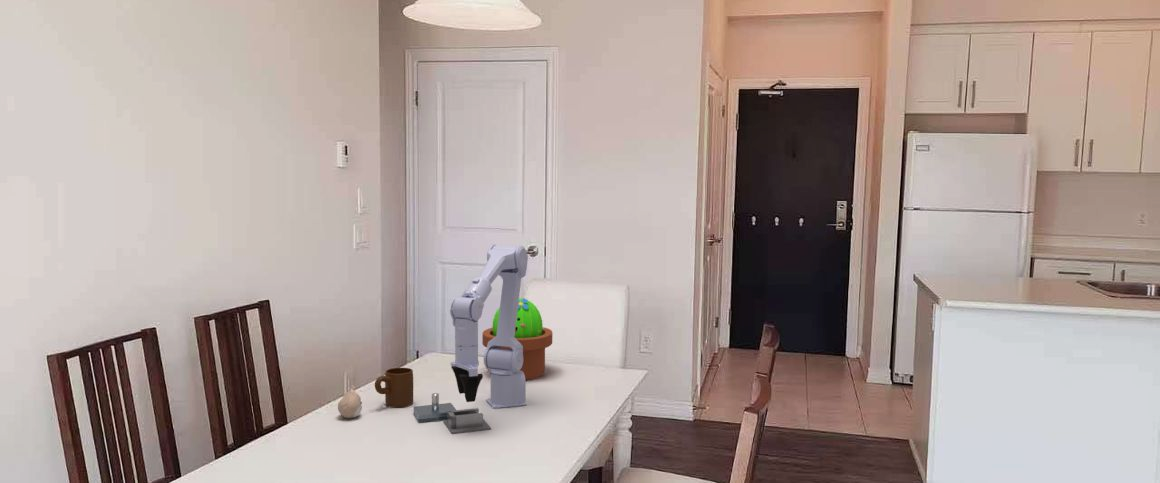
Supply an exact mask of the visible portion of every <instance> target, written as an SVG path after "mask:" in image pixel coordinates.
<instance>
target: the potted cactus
mask: <svg viewBox="0 0 1160 483" xmlns="http://www.w3.org/2000/svg"><path fill="white" fill-rule="evenodd" d="M499 310H500V306H499V307H498V308H497V309H496V312H494V314H493V315H492V317H493V318H492V325H490V327H489V328H487V329H485V330H483V332H482V341H481V342H482V345H483V347H485V348H487V344H488V342H489V341H490V340H492V339H493V338H494V337H496V335H497V327H498V318H499ZM515 338H516V339H517V340H518V341H519V342H520V343H521V345H522V346H523V365H522V368H521V369H520V370H519V371H523V373H524V375H525V381H529V380H535V379H538V378H541V377H542V376H543V375H544V374H546V373H545V372H546V348H549V347H551V345H552V344H553V330H552V329H550V328H548V327H544V326H543V319H542V316H541V312H540V310H539V309H538V308H537V306H536V305H535V304H534V303H533V302H532V301H530V300H529V299H528V298H526V297H523V298H521V297H519V303H518V311H517V320H516V328H515ZM498 348H504V349H512V348H511V347H503V346H500V347H498ZM489 374H490V375H491V373H490V372H489Z"/></svg>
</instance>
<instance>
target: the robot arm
mask: <svg viewBox="0 0 1160 483" xmlns="http://www.w3.org/2000/svg"><path fill="white" fill-rule="evenodd" d="M528 260H529V256H528V253H527V250H526V248H525V246H523V245H519V246H518V245H502V244H501V245H499V244H498V245H497V244H492V245H490V247H489V248H488V251H486V263H485V266H483V269H482V271H481V273H480V275H479V276H477V277H473V279H472V280H471V281H470V283H469V284H468V285H467V287H466V289H465V290H464V291H463V293H462V295H460V296H458V297H455V298H454V299H453V300H452V302H451V304H450V309H449V313H450V317H451V319H452V326H453V327H454V357H455V360H454V361H450V366H451V370H452V371H453V373H454V377H455V380H456V385H457V390H458V393H459V394H460V395H462V394H464V398H465V402H466V403H472V402H476V398H477V393H478V390H479V386H480V383H481V381H482V380H483V377H484V375H483V373H478V372H479V371H478V370H479V368H478V367H479V364H480V361H479V320H480V318H481V317H482V315H483V309H484V306H485V302H486V300H487V298H488V297H489V296H490V294H491V292H492V289H493V288H492V284H493V282H494V281H495V280H496V279H497V277H498V276H500V277H501V279H502V287H501V295H500V296H501V297H500V301H499V303H500V304H499V305H500V306H499V307H500V310H499V318H498V327H497V335H496V337H494V338H493V339H492V340H490V341H489V342H488V344H487V347H486V349H485V352H484V355H483V364H484V367H485V368H486V369H487V371H488V372H487V373H489V374H490V373H491V374H490V397H489V398H486V399H485V401H486V402H487V403H488V404H489V405H490V406H491V408H493V409H499V408H500V409H501V408H509V407H518V406H526V405H527V402H526V400H527V399H526V395H527V394H526V392H527V390H526V388H527V387H526V384H527V383H526V381H527V380H525V375H524V373H523V371H519V370H520V369H521V368H522V365H523V346H522V345H521V343H520V342H519V341H518V340H517V339H516V338H515V328H516V320H517V311H518V303H519V298H520V292H521V285H522V278H524V277H526V275H527V269H528ZM500 346H503V347H511V348H512V349H504V348H498V347H500Z"/></svg>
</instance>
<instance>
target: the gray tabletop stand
mask: <svg viewBox="0 0 1160 483" xmlns="http://www.w3.org/2000/svg"><path fill="white" fill-rule="evenodd" d="M483 419H484V414H483V413H482V412H479V408H478V407H475V408H467V409H456V410H454V411H447V423H448V425H449V426H450V428H451V429H459V428H467V427H476V426H483Z"/></svg>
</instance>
